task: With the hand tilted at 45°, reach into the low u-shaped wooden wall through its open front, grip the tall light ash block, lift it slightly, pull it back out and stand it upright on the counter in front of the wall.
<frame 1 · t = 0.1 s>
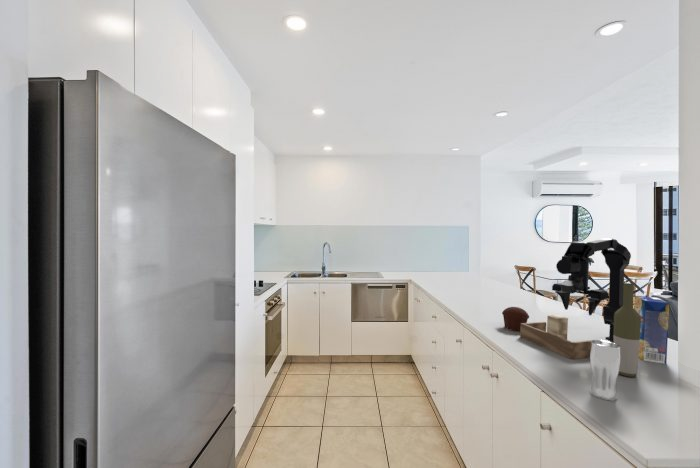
hand: (577, 312, 134), 15 cm above the worktop, tool pointing down, fingers open, 9 cm apart
beer glass: (603, 395, 97), on the worktop
u-shaped wooden wall: (556, 345, 137), on the worktop
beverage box: (648, 357, 127), on the worktop
bottle: (624, 374, 112), on the worktop
muffin: (514, 329, 160), on the worktop
ash block: (556, 346, 137), on the worktop
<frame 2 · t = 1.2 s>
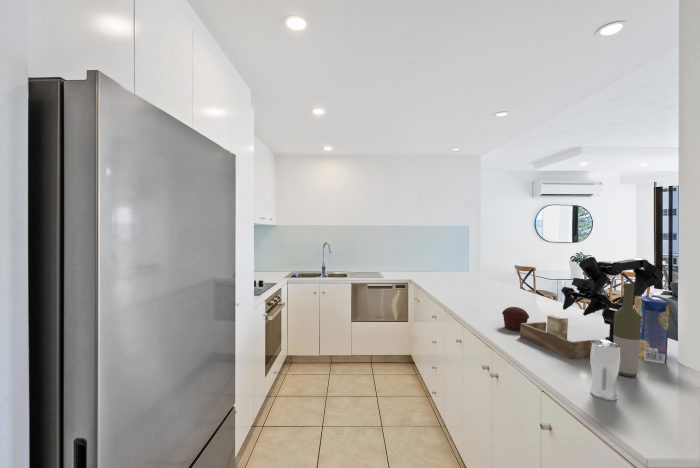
hand: (573, 311, 139), 14 cm above the worktop, tool tilted 45°, fingers open, 9 cm apart
nothing on the worktop moved.
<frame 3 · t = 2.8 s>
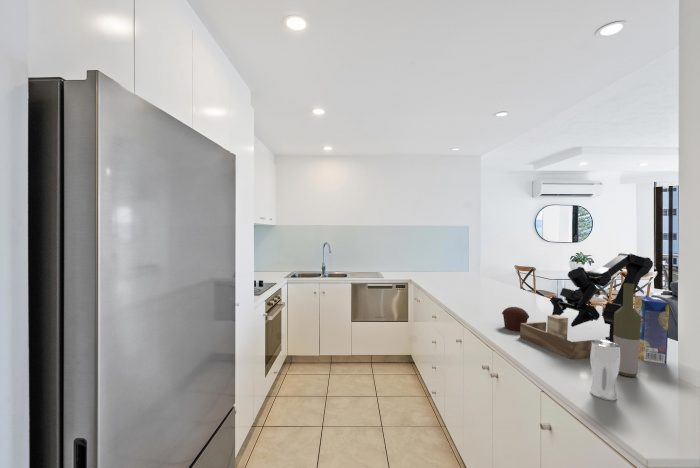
hand: (561, 322, 137), 9 cm above the worktop, tool tilted 45°, fingers open, 9 cm apart
nothing on the worktop moved.
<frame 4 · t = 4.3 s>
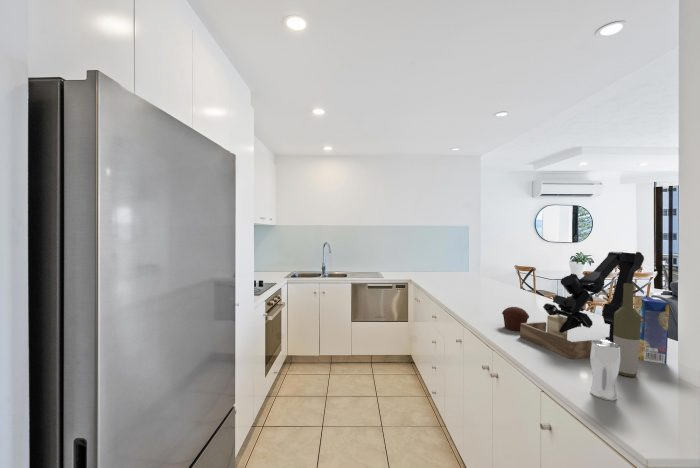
hand: (554, 330, 136), 7 cm above the worktop, tool tilted 45°, fingers closed on ash block, 5 cm apart
ash block: (556, 345, 137), on the worktop, touching gripper
everything else where it was.
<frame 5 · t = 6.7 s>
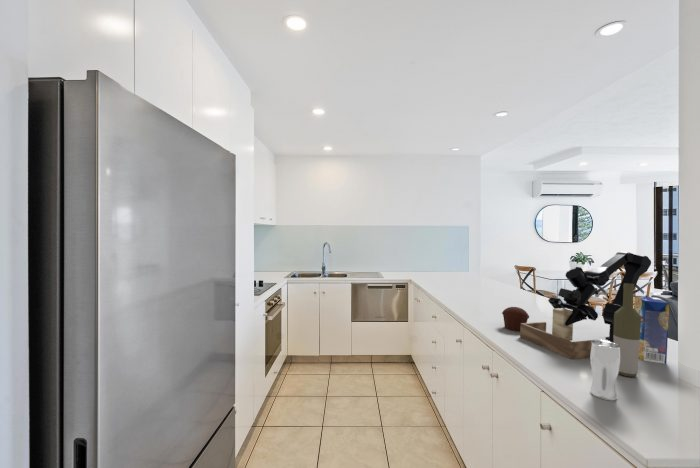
hand: (559, 323, 137), 9 cm above the worktop, tool tilted 45°, fingers closed on ash block, 5 cm apart
ash block: (562, 338, 138), point 3 cm above the worktop, touching gripper
everything else where it was.
when the fingers open (8 cm above the worktop, at t = 9.4 s): ash block drops 1 cm, on the worktop.
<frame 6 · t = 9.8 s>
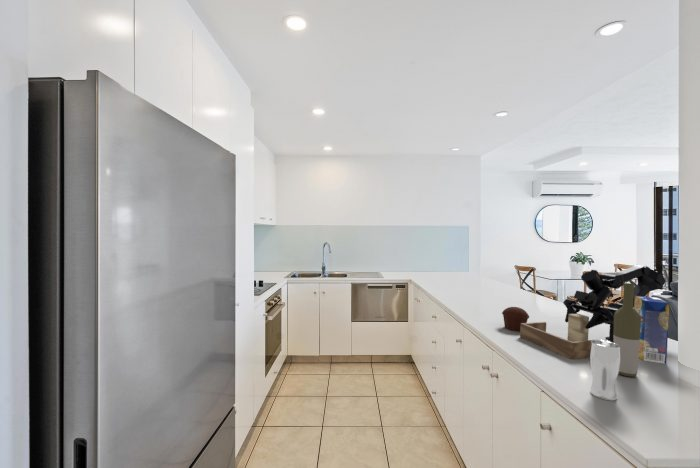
hand: (575, 324, 139), 8 cm above the worktop, tool tilted 45°, fingers open, 9 cm apart
ash block: (577, 344, 140), on the worktop
everything else where it was.
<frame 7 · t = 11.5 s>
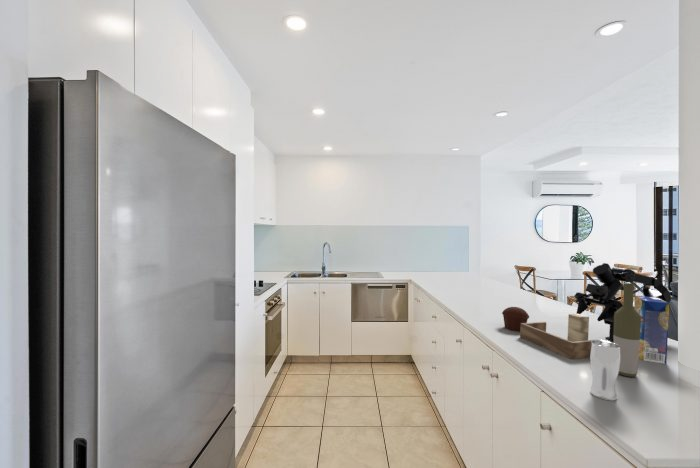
hand: (587, 317, 141), 11 cm above the worktop, tool tilted 45°, fingers open, 9 cm apart
nothing on the worktop moved.
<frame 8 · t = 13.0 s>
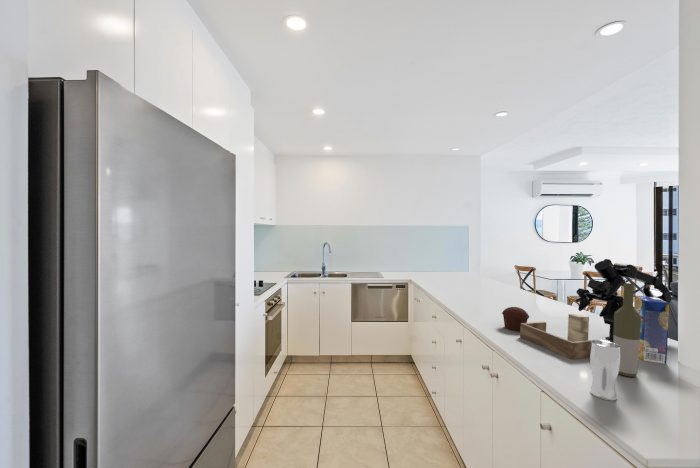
hand: (589, 313, 141), 13 cm above the worktop, tool tilted 45°, fingers open, 9 cm apart
nothing on the worktop moved.
at the end: ash block inside the target area on the worktop beside the u-shaped wooden wall (0.8 cm from its centre), on the worktop; ash block tilted 0°; the gripper is holding nothing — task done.
